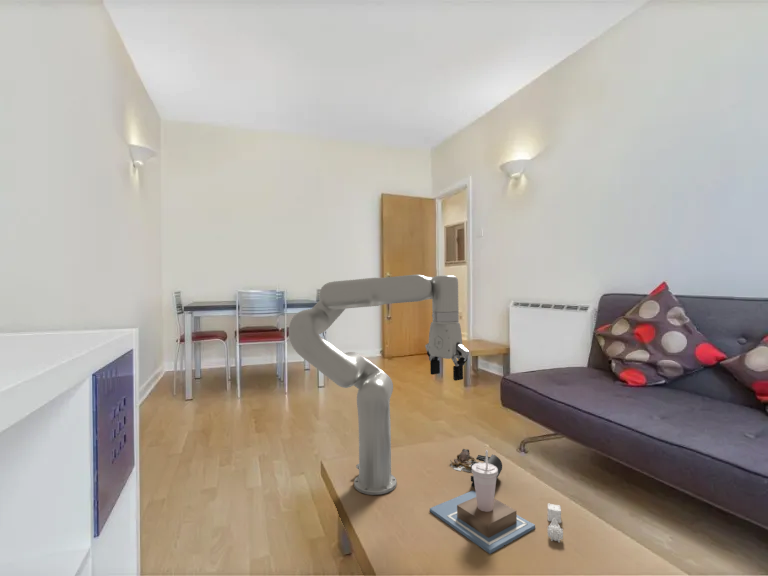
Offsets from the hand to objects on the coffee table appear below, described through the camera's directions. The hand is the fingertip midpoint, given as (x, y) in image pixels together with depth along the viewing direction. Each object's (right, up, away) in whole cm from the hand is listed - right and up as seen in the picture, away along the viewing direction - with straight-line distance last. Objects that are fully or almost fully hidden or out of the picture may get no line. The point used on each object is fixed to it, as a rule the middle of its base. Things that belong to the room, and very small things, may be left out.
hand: (446, 376), depth 113 cm
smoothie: (+7, -28, -17) cm, 34 cm away
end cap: (+13, -33, +3) cm, 35 cm away
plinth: (+7, -32, -17) cm, 37 cm away
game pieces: (+23, -32, -20) cm, 44 cm away
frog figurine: (+8, -33, +16) cm, 38 cm away
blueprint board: (+6, -32, -16) cm, 36 cm away
